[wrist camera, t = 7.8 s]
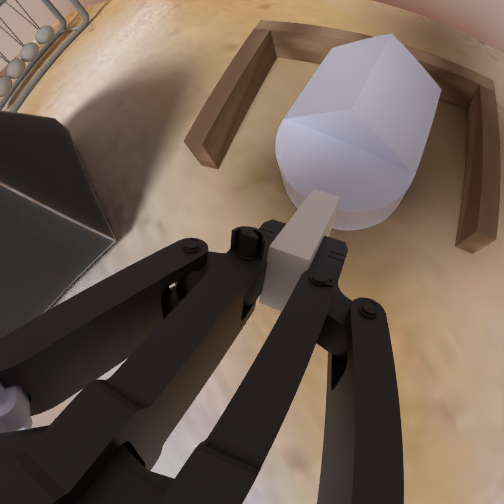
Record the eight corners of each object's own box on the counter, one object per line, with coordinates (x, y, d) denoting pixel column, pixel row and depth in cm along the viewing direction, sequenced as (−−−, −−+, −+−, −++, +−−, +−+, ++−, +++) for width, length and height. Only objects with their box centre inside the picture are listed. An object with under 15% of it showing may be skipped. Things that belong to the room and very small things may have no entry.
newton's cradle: (68, 25, 40) (25, -26, 23) (94, 20, 37) (47, -42, 20) (-22, 147, 37) (-83, 107, 20) (-11, 158, 34) (-84, 111, 17)
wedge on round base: (332, 75, 23) (259, 195, 21) (330, 15, 16) (233, 143, 15) (431, 115, 20) (378, 254, 19) (452, 58, 14) (404, 219, 12)
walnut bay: (480, 104, 19) (493, 80, 16) (472, 253, 17) (495, 239, 14) (267, 46, 25) (260, 20, 22) (201, 165, 23) (183, 141, 20)
